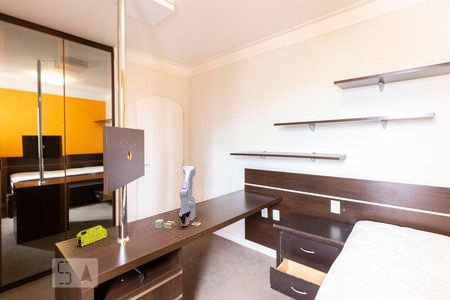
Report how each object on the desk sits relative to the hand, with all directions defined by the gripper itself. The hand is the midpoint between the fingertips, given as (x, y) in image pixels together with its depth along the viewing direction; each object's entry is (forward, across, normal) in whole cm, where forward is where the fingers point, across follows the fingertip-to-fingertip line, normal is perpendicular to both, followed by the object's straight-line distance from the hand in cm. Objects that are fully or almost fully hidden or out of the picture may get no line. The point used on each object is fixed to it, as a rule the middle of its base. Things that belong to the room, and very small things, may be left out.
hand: (185, 222), depth 166 cm
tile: (+3, -6, +6) cm, 9 cm away
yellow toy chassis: (+3, +38, -47) cm, 61 cm away
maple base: (+3, +4, -11) cm, 12 cm away
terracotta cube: (+2, 0, 0) cm, 2 cm away
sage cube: (+3, +6, -18) cm, 20 cm away
